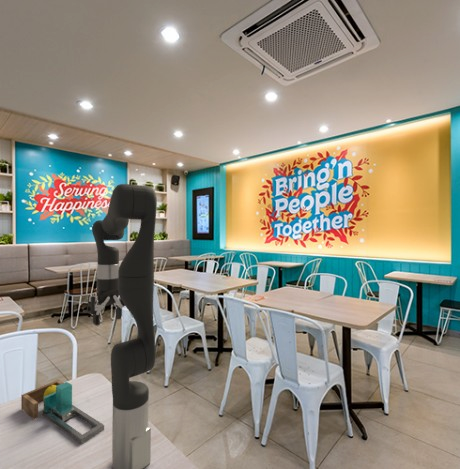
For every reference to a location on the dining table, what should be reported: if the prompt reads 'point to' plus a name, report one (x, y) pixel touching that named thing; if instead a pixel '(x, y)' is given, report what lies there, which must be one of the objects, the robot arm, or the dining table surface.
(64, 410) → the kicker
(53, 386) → the lemon
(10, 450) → the dining table surface
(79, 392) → the dining table surface
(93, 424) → the rails
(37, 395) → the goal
